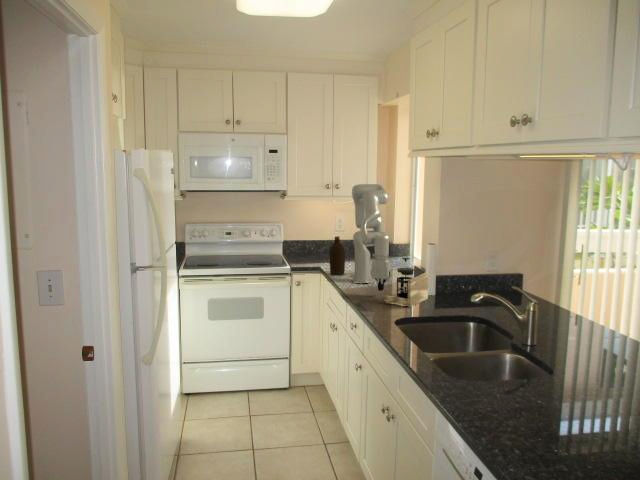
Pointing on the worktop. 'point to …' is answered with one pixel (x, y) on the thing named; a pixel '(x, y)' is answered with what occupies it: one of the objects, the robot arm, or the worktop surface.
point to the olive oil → (337, 258)
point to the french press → (405, 272)
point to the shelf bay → (413, 291)
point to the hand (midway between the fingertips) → (380, 290)
